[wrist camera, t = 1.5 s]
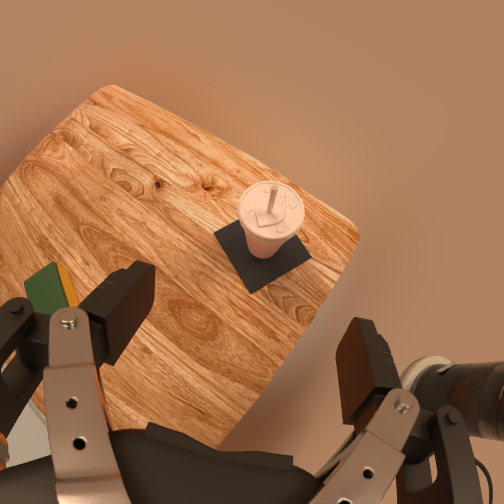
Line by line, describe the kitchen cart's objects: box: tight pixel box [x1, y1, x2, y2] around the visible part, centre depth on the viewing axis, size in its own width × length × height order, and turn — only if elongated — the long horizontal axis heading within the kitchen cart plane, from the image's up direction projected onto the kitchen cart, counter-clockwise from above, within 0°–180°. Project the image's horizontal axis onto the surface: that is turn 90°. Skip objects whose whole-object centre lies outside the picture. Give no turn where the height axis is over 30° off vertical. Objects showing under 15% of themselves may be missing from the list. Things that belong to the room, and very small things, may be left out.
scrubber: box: [24, 261, 79, 315], centre depth 29 cm, size 9×6×4 cm, turn 31°
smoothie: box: [238, 181, 305, 259], centre depth 29 cm, size 6×6×14 cm
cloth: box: [214, 220, 311, 294], centre depth 36 cm, size 9×9×1 cm
